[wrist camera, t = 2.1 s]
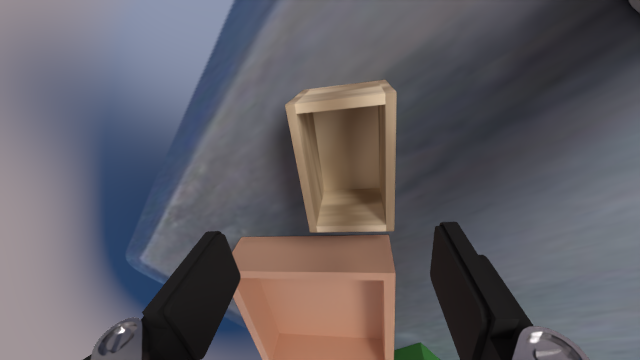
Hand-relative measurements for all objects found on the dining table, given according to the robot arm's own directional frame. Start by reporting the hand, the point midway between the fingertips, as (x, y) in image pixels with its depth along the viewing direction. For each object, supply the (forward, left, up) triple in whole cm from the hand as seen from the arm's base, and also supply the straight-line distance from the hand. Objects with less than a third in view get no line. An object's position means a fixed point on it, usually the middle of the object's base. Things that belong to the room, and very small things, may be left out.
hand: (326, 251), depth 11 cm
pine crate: (-1, 0, -13) cm, 13 cm away
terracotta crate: (+4, +20, -13) cm, 24 cm away
